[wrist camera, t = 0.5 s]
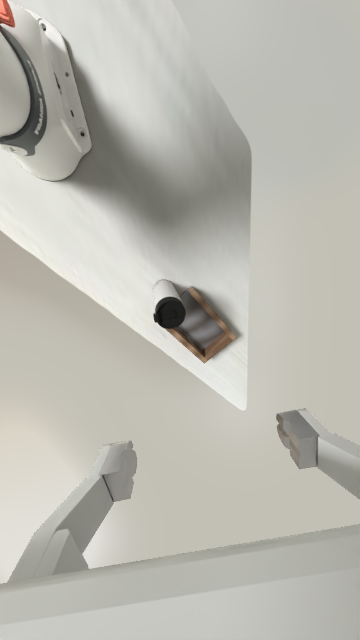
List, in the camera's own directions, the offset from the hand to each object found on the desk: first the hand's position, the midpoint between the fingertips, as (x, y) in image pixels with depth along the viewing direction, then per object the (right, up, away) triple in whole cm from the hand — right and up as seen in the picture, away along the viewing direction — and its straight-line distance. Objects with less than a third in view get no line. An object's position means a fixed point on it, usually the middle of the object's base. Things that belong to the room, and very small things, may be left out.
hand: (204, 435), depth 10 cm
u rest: (+4, +5, +49) cm, 49 cm away
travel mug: (-6, +15, +43) cm, 46 cm away
